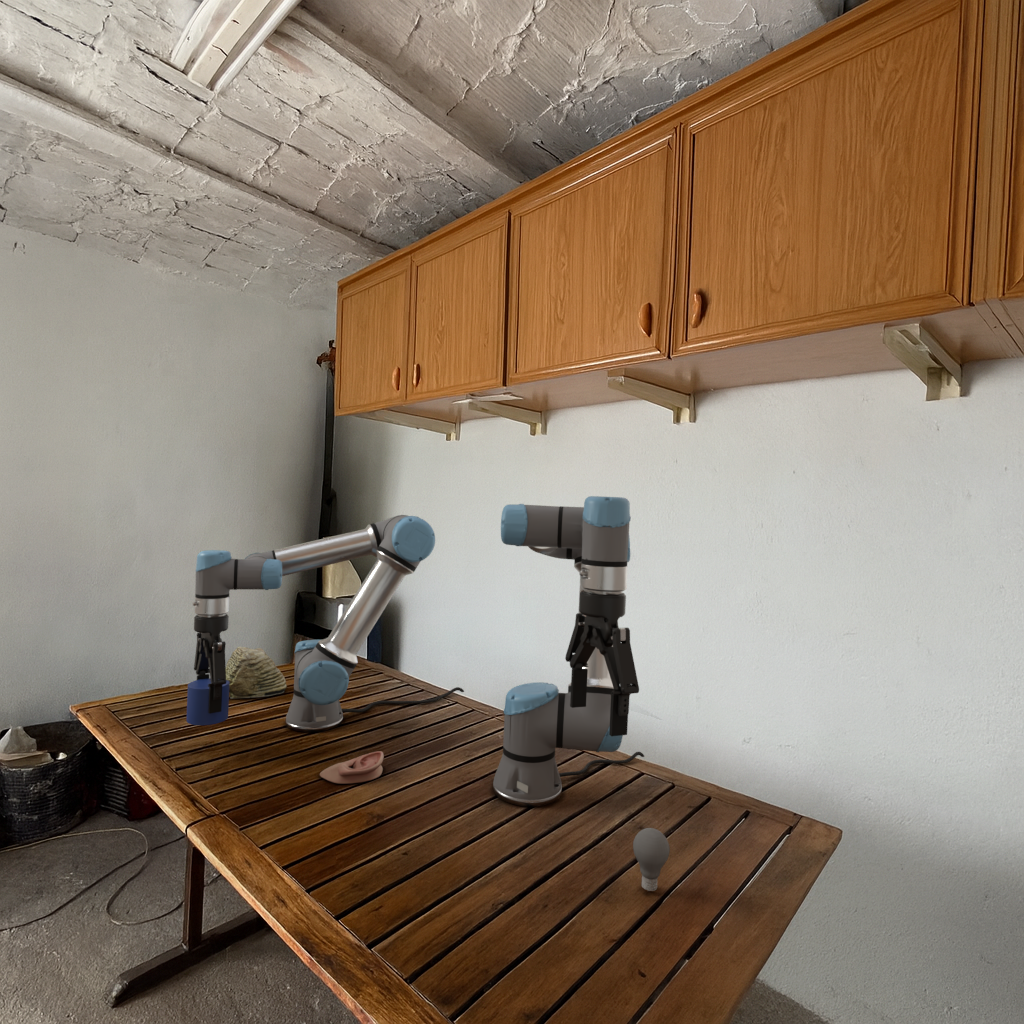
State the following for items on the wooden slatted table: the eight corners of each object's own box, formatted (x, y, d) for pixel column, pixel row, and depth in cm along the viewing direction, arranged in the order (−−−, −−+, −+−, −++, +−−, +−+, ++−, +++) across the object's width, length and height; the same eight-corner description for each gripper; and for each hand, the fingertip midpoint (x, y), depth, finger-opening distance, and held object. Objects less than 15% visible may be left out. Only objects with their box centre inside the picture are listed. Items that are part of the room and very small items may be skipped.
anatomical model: (313, 762, 141) (337, 743, 152) (312, 780, 141) (337, 759, 152) (369, 770, 138) (389, 750, 149) (368, 788, 138) (389, 767, 149)
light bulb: (627, 878, 109) (629, 820, 109) (660, 878, 109) (663, 821, 109) (636, 900, 103) (639, 839, 103) (672, 900, 104) (675, 839, 103)
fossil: (218, 695, 195) (220, 647, 195) (278, 685, 208) (279, 640, 207) (228, 703, 189) (230, 653, 188) (289, 692, 201) (290, 645, 201)
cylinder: (178, 719, 152) (179, 684, 152) (213, 709, 160) (214, 675, 160) (201, 728, 147) (202, 691, 147) (236, 717, 155) (237, 682, 155)
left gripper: (182, 608, 159) (178, 697, 159) (209, 623, 143) (205, 722, 143) (213, 606, 164) (210, 692, 164) (243, 620, 148) (240, 716, 148)
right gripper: (550, 580, 114) (545, 698, 114) (622, 604, 90) (615, 751, 91) (587, 580, 116) (582, 695, 117) (667, 603, 93) (660, 746, 93)
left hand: (208, 706), depth 154 cm, fingers closed on cylinder, 9 cm apart
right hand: (596, 720), depth 104 cm, fingers open, 13 cm apart
